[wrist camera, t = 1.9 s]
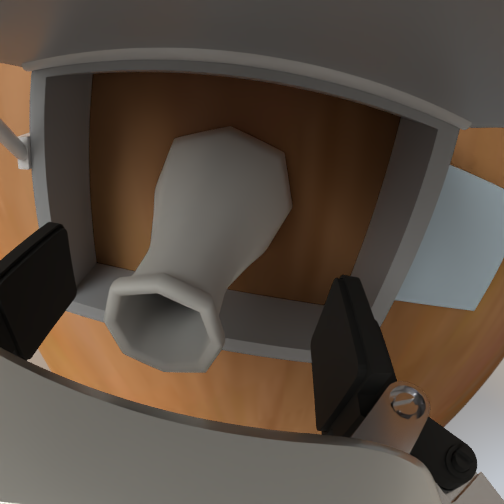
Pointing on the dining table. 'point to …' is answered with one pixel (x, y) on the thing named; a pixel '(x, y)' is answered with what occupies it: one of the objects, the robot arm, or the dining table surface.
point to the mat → (458, 245)
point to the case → (258, 69)
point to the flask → (198, 247)
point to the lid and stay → (286, 41)
